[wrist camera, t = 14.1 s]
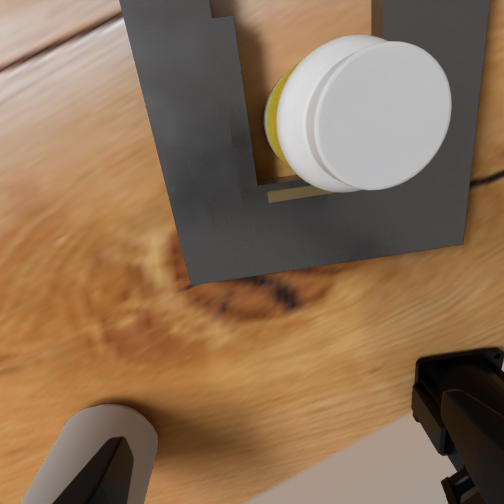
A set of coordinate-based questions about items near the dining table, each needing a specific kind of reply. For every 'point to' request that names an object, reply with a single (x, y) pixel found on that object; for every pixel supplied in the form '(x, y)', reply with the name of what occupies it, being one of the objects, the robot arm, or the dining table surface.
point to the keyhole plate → (294, 187)
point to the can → (95, 451)
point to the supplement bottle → (359, 114)
